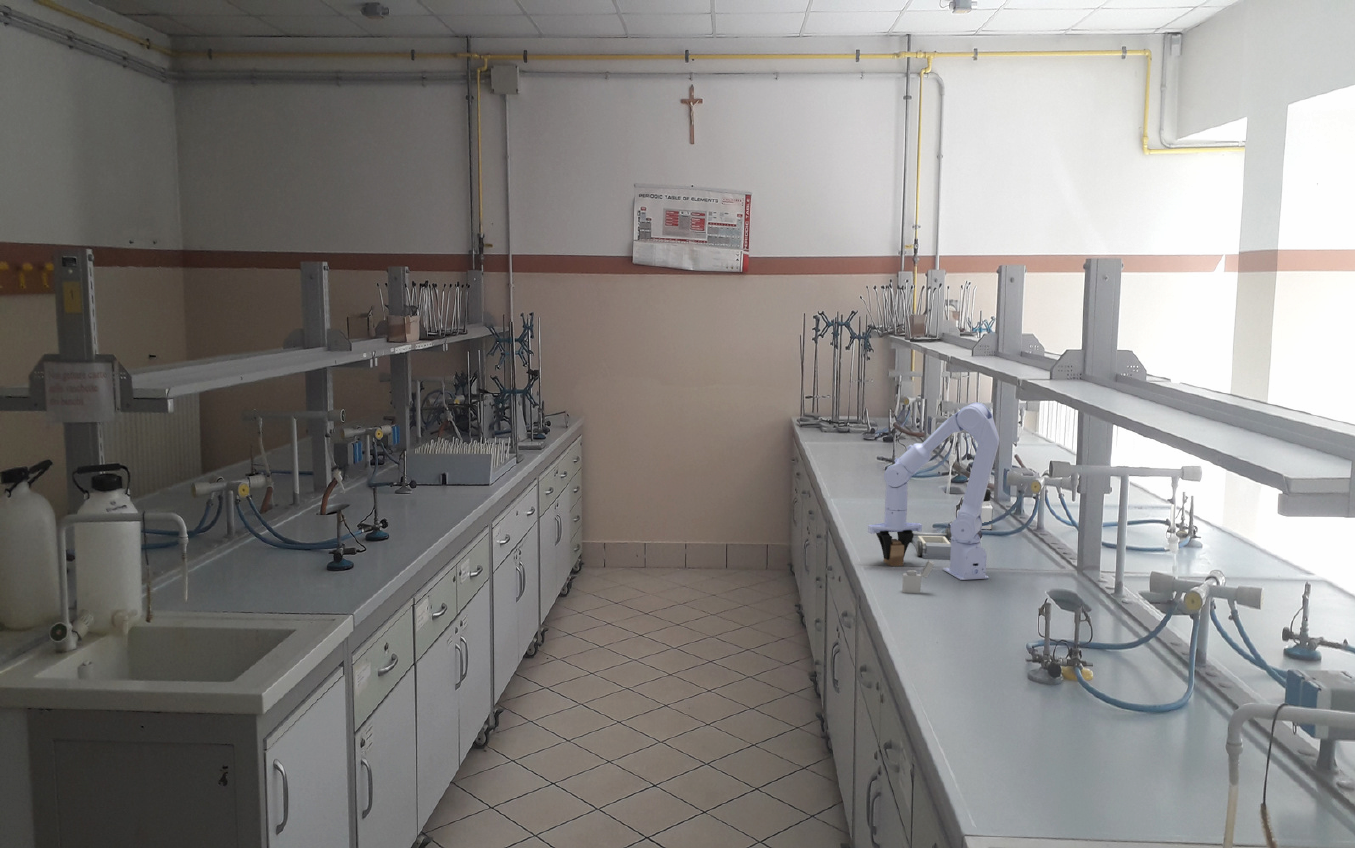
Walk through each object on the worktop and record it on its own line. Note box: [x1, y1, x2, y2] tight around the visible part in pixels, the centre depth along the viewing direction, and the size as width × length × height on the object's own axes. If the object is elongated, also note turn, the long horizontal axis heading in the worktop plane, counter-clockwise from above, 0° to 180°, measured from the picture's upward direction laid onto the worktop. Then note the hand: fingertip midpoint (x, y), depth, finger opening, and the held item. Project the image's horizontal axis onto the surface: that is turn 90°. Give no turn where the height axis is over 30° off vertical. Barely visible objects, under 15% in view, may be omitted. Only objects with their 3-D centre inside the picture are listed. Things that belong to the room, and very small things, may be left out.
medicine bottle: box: [981, 488, 994, 529], centre depth 298 cm, size 7×7×12 cm
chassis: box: [910, 527, 952, 560], centre depth 272 cm, size 22×12×4 cm, turn 176°
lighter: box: [901, 559, 935, 594], centre depth 232 cm, size 7×2×8 cm, turn 84°
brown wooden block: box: [883, 538, 905, 567], centre depth 257 cm, size 4×4×6 cm
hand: (893, 558), depth 257 cm, fingers closed on brown wooden block, 4 cm apart
